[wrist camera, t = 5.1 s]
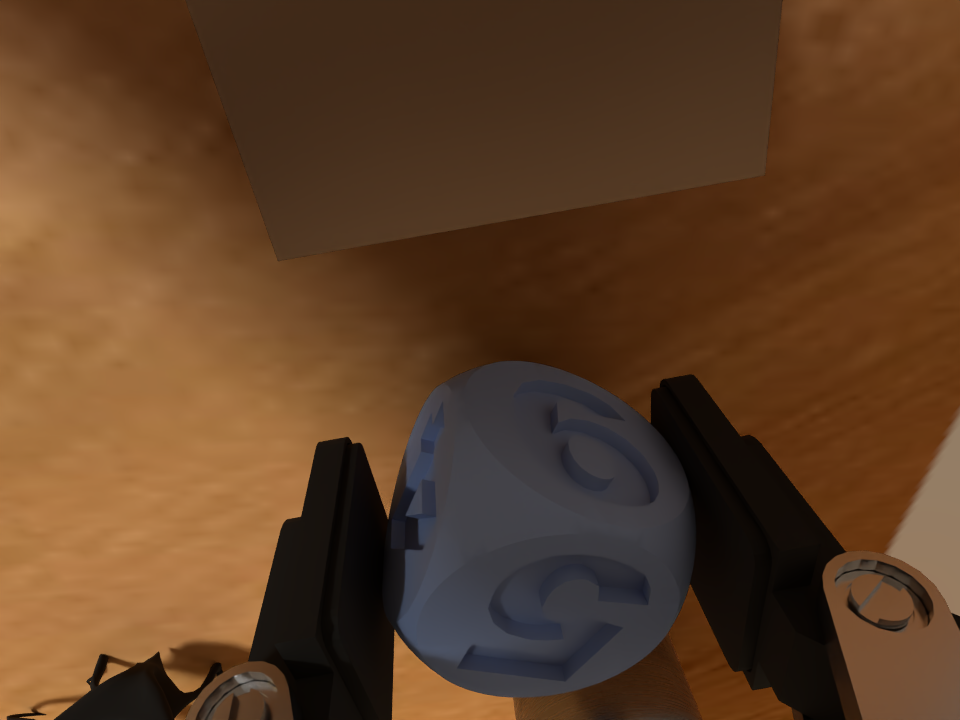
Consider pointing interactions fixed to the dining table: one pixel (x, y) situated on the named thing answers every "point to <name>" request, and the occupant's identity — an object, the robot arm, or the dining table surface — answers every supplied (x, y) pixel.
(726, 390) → the dining table surface
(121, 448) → the dining table surface
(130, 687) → the creature
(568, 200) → the walnut block
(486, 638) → the decorative dice
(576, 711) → the dark metal cylinder
